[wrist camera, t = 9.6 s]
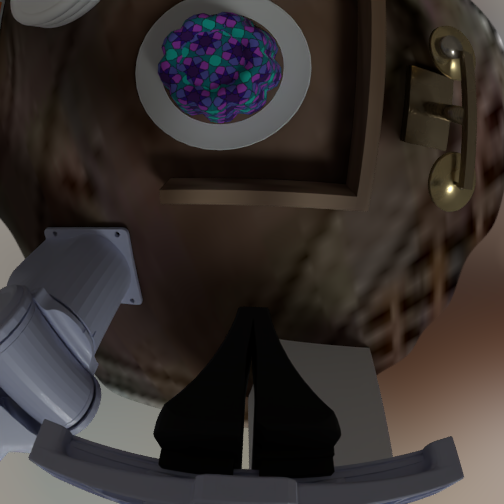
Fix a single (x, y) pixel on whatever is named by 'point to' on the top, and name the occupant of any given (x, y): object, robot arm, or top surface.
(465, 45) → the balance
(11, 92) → the top surface
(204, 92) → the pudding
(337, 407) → the milk
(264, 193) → the holder
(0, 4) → the skincare box
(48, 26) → the white short cylinder
